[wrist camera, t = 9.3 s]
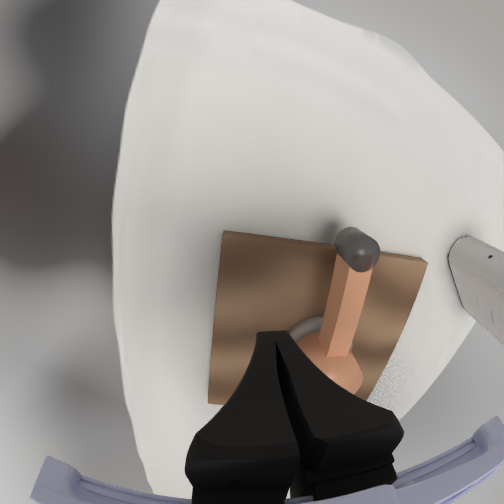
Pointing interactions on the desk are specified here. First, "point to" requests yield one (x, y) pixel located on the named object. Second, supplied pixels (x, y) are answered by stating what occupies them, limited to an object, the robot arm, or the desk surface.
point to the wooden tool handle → (343, 309)
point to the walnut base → (301, 304)
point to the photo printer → (480, 282)
